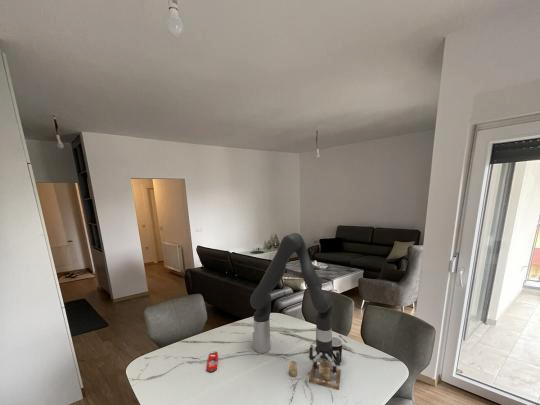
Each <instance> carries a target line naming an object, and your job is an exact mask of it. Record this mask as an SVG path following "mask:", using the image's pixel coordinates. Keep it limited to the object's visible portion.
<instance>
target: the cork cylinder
mask: <svg viewBox="0 0 540 405" xmlns="http://www.w3.org/2000/svg"><path fill="white" fill-rule="evenodd" d="M288 375H289V377H290V378H296V377H298V363H297V362H296V361H293V360H292V361H290V362H288Z"/></svg>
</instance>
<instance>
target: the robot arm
mask: <svg viewBox="0 0 540 405" xmlns="http://www.w3.org/2000/svg"><path fill="white" fill-rule="evenodd" d="M294 253H295V254H296V255H297V257H298V261H299V266H300V270H301V275H302V279H303V281H304V283H305V285H306V287H307V290H308V292H309V295H310V300H311V303H312V305H313V307H314V308H315V310H316V311H317V315H316V318H315V327H316V328H315V346H314V345H313V344H310V346H309V354H308V356H309V357H308V359H309V360H310V361H312V365H313V367H314V368H315V370H318V369H317V364H318V361H317V360H318V359H319V357H320V358H322V359H325V361H328V362H329V361H330V362H331V365H332V367H333V372H332V374H337V373H336V368H337V366H338V367H340V366H341V363H340V354H339V350H337V351H333V349H332V337H333V331H332V313H333V298H332V297H331V295H330V294H329V293H327V292H323V290H322V288H323V284H322V282H321V279H320V278H319V275H318V274H317V272H316V270H315V268H314V265H313V263H312V261H311V258H310V255H309V251H308V248H307V245H306V243H305V240H304V238H303V236H302V235H301V234H300V233H298V232H293V233H289V234H286V235H285V236H284V237H282V239H281V242H280V243H279V245H278V248H277V250H276V253H275V255H274V257H273V258H272V259H271V262H270V264H269V265H268V267H267V269H266V270H265V273H264V274H263V277H262V278H261V280H260V281H259V284H258V285H257V286H256V288H255V289H254V291H253V293H251V295H250V298H249V303H250V306H251V308H253V309H254V310H256V311H254V313H253V332H252V350H253V351H255V352H256V353H258V354H265V353H268V352H269V351H271V324H270V316H271V312H272V298H271V293H270V292H271V291H272V290H273V289H274V288H276V286H277V285H279V283H280V282H281V280H282V279H283V277H284V275H285V272H286V269H287V268H286V267H287V263H288V262H289V259H290V258H291V256H293V254H294ZM314 351H315V355H313V353H314ZM316 352H317V354H316ZM333 354H335V356H336V357H337V361H336V360H335V359H334V357H333ZM328 359H329V360H328Z"/></svg>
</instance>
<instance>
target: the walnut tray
mask: <svg viewBox="0 0 540 405" xmlns="http://www.w3.org/2000/svg"><path fill="white" fill-rule="evenodd" d="M319 364H320V363H317V369H315V368H314V367H313V364H311V365H312V366H311V370H310V374H309V377H308V383H309V384H313V385H316V386H317V385H318V386H322V387H326V388H331V389H334V390H338V391H339V390H340V382H341V372H342V371H341V368H337V367H336V373H335V374H336V379H335V382H333V381H330V382H329V381H325V380H320V379H319V378H316V377H314V376H315V373H316V370H319ZM331 373H333V366H331Z"/></svg>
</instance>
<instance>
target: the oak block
mask: <svg viewBox="0 0 540 405" xmlns="http://www.w3.org/2000/svg"><path fill="white" fill-rule="evenodd" d="M318 364H319V369H318V379H320V380H325V381H329V382H331V380H330V379H332V372H331V367H332V363H331V362H329V361H328V360H325V361H322V360H320V362H319V363H318Z"/></svg>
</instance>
